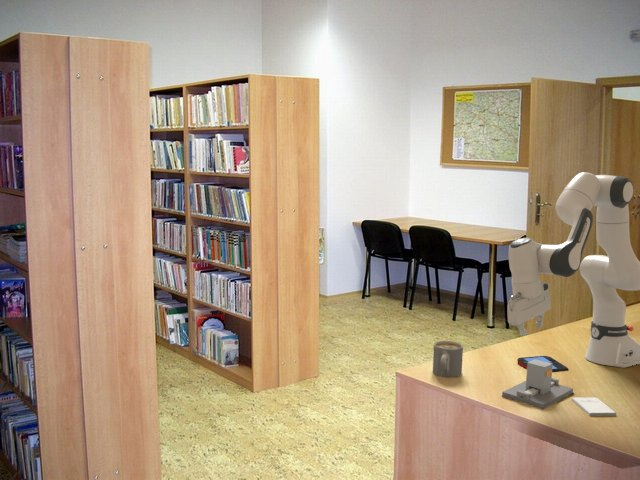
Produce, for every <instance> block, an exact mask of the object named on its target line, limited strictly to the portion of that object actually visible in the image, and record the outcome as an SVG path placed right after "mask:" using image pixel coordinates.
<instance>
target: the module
mask: <svg viewBox="0 0 640 480" xmlns="http://www.w3.org/2000/svg"><path fill="white" fill-rule="evenodd" d="M552 375H553V372H552V363H548V362H544V361H540V360H536V359H534V360H532V361H530V362H528V363H527V369H526V380H525V381H526V390H529V389H531V388H533V387H535V388H538V389H540V394H545V393H547V392H549V391H551V378H553V376H552Z"/></svg>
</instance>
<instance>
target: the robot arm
mask: <svg viewBox="0 0 640 480" xmlns="http://www.w3.org/2000/svg"><path fill="white" fill-rule="evenodd" d="M634 192H635V187H634V184H633V182H632V180H631V179H630V178H628V177H626V176H623V175H611V174H610V175H609V174H593V173H591V172H586V171H582V172H579V173H577V174H575V176H574V177H573V178H572V179H571V180H570V181H569V182H568V183H567V184H566V186H565V187H564V189H563V190H562V191H561V193H560V195H559V197H558V198H557V200H556V203H555V212H556V214H557V217H558V218H559V219H560V220H561V221H563V223H565V224H567V226H571V229H570V231H569V234H568V237H567V240H566V241H565V242H563V243H559V244H544V243H539V242H536V241H534V240H533V238H531V237H523V238H522V237H521V238H517V239H516V240H513V241H512V242H510V244H509V246H508V264H509V270H510V272H511V287H512V288H511V291H512V295H511V296H510V298H509V300H508V302H507V311H506V312H507V314H506V315H507V323H508V324H509V325H511V326H516V328H517V329H518V330H519V335H520V336H521V337H526V336H528V329H526V328H525V326H526V325H525V323H526V322H528V321H529V320H530V321H531V320H532V319H534V318H536V321H535V327H536V328H539V329H540V328H543V326H544V319H545V318H544V317H545V313H546V312H548V311H550V310H551V306H552V305H551V304H552V302H551V294H550V293H551V292H550V283H549V282H545V281H541V278H540V274H543V275H550V276H551V275H553V276H559V277H564V278H569V277H571V276H573V275H574V274H575V273H577V271H578V270H579V273H580V276H581V277H582V278H583V279H584V281H585V282H586V284H587V286H588V287H589V290H590V292H591V296H592V300H593V303H592V304H593V307H592V308H593V309H592V320H591V322H590V323H591V325H590V337H589V341H588V346H587V349H586V353H585V356H584V358H585V359H586V360H587V361H589V362H591V363H595V364H598V365H603V366H604V365H605V366H611V367H617V368H624V369H625V368H628V367H633V366H637V365H640V343H639V342H638V341H636V340H635V339H634V338H633V337H631V335H629V333H628V331H629V332H633V331H634V329H635V327H634V326H633V325H630V324H627V325H626V314H627V304H626V302H625V301H624V299H623V298H621V297H620V296H619V294H618V292H617V289H619V290H622V291H640V260H639V258H637V256H636V254H635V252H634V249H633V247H632V243H631V236H630V210H629V209H630V208H629V204H630V202H631V201H632V200H633V197H634V195H635V194H634ZM593 207H596V214H595V215H596V218H595V221H596V222H595V224H596V225H595V226H596V228H595V231H596V233H595V235H596V242H597V244H598V246H599V247H601V248H602V249H603V250H604V252H605V254H606V255H602V254H590V255H587V256H585V257H584V258H583V259H582V257H583V256H582V255H583V253H584V249H585V246H586V244H587V242H588V238H589V236H590V233H591V230H592V227H593V223H594V216H593V212H592V209H593ZM636 364H637V365H636ZM632 365H633V366H632Z"/></svg>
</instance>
